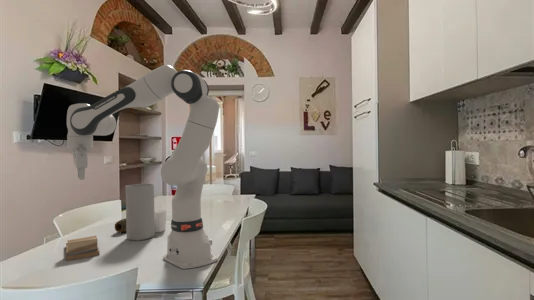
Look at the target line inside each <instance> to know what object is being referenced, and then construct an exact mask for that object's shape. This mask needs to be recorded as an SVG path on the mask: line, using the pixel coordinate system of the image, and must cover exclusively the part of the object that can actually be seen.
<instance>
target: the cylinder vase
mask: <svg viewBox="0 0 534 300" xmlns="http://www.w3.org/2000/svg"><path fill="white" fill-rule="evenodd" d="M154 210H155V184H153V183H136V184H135V183H134V184H128V185H127V184H126V185H125V218H126V228H127V232H126V238H127V240H128V241H144V240H148V239H151V238H153V237H154V236H155V234H156V232H155V218H154Z"/></svg>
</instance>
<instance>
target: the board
mask: <svg viewBox="0 0 534 300" xmlns="http://www.w3.org/2000/svg"><path fill="white" fill-rule="evenodd" d="M65 248H66V262H70V261H73V260H79V259H83V258H84V259H85V258H89V257H95V256H100V249H99V246H98V245H97V248H98V251H94V252H88V253H82V254H77V255H71V256H68V242H66V243H65Z"/></svg>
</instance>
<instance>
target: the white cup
mask: <svg viewBox="0 0 534 300" xmlns="http://www.w3.org/2000/svg"><path fill="white" fill-rule="evenodd" d="M154 218H155V233H162V232H164V231H166V227H167V226H166V224H167V223H166V222H167V210H165V209H154Z"/></svg>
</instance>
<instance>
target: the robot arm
mask: <svg viewBox="0 0 534 300" xmlns="http://www.w3.org/2000/svg"><path fill="white" fill-rule="evenodd" d="M209 93H210V88H209V85H208V83H207V81H206V80H205V79H204V78H203V77H202V76H201V75H199V74H197V73H196V72H194V71H192V70H189V69H181V70H179V71H177V70H176V69H175V68H174V67H173V66H171V65H169V64H164V65H161V66H159V67H157V68H155V69H152V70H151V71H149V72H147V73H145V74H144V75H142V76H141V77H139V78H138V79H136V80H135V81H133V82H132V83H130V84H128V85H126V86H124V87H122V88H120V89H118V90H115V91H114V92H112V93H110V94H108V95H107V96H105V97H103V98H102V99H100V100H98V101H97V102H94V103H93V104H89V103H86V102H77V103H74V104H71V105H69V106H68V109H67V112H66V113H67V114H66V128H67V135H66V139H67V140H66V143H67V146H66V147H67V149H69V150H70V151H71V154H72V156H73V163H74V166H75V168H76V169H77V178H78V179H79V181H82V180H85V177H86V175H85V174H86V169H87V168H88V166H89V163H88V160H89V159H88V153H90V149H94V136H103V137H104V136H105V137H106V136H110V135H112V134H113V133H114V132H115V130H116V129H117V119H116V118H115V116H114V115H115V113H117V112H119V111H121V110H124V109H129V108H148V107H151V106H154V105H155V104H156V105H157V103H159V102H161V101H162V100H164V99H165V98H166V97H168V96H170V95H171V94H175V95H176V97H178V98H179V99H180V100H182V101H184V102H185V103H186V104H188V105H190V107H189V108H190V109H189V110H190V111H189V114H188V118H187V119H186V123H185V126H184V129H183V132H182V135H181V137H180V139H179V142H178V143H177V145H176V146H175V149H174V150H173V152H172V154H170V157H168V159H167V160H166V161H165V162H163V164H162V165H161V166H160V167H161V168H160V176H161V179H162V180H163V183H166V184H167V185H170V186H173V187H175V186H176V191H175V194H174V195H173V197H172V200H171V217H172V218H171V221H170V229H171V231H170V233H169V234H168V236H167V245H166V246H167V247H166V254H164V255H163V258H162V259H163V260H164V261H166V262H167V263H170V264H172V265H173V266H175V267H178V268H180V269H182V270H183V269H193V268H199V267H204V266H207V265H211V264H212V263H215V262H217V261H218V257H217V256H216V254H215V253H214V251H213V250H212V249H211V246H213V239H209V236H208V234H206V232H205V230H204V222H203V217H202V206H201V205H202V203H201V202H202V201H201V200H202V192H203V186H204V181H205V177H206V175H207V173H208V165H207V163H206V161H205V160H204V159H203V158H202V157H203V154H205V152H206V151H207V150H208V149H209V146H210V144H211V141H212V138H213V136H214V135H213V134H214V132H215V128H216V125H217V122H218V118H219V112H220V104H219V102H218V101H217V100H216V99H214V98H213V97H210V96H209Z"/></svg>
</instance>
